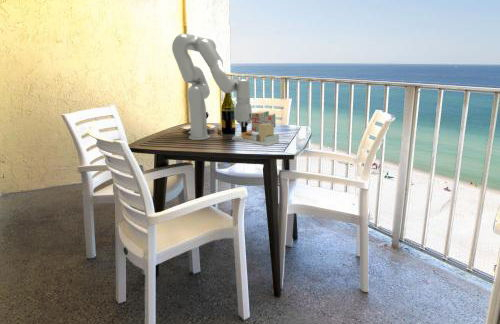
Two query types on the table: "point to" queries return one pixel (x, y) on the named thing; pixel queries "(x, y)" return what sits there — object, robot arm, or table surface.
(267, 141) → the vise
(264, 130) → the brass block
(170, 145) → the table surface
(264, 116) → the stack of blocks
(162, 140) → the table surface
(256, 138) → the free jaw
